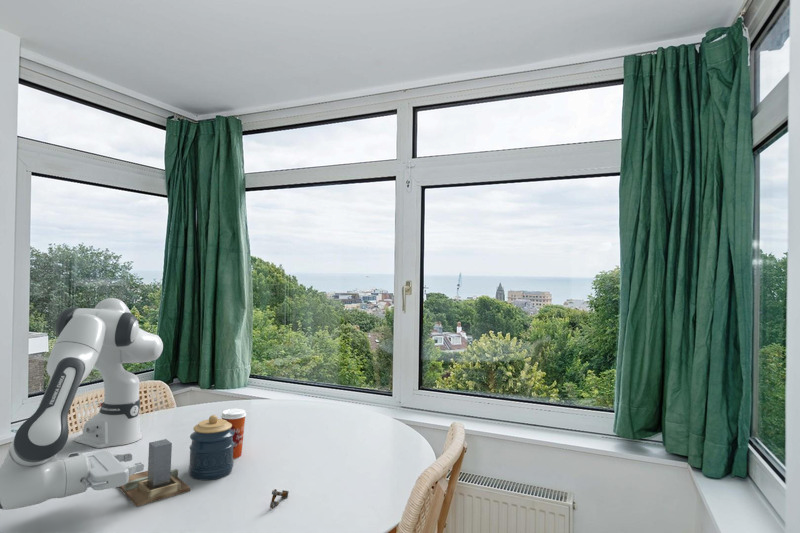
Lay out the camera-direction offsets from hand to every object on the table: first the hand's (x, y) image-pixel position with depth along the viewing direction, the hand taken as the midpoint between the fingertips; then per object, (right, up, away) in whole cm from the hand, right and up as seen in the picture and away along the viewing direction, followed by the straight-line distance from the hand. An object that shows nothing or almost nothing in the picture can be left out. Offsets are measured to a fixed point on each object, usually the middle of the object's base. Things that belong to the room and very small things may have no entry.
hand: (137, 461), depth 128 cm
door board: (0, -11, +8) cm, 14 cm away
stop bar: (+4, -10, +4) cm, 11 cm away
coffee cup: (+14, -12, +34) cm, 38 cm away
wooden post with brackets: (+38, -12, +1) cm, 40 cm away
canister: (+12, -12, +19) cm, 26 cm away
